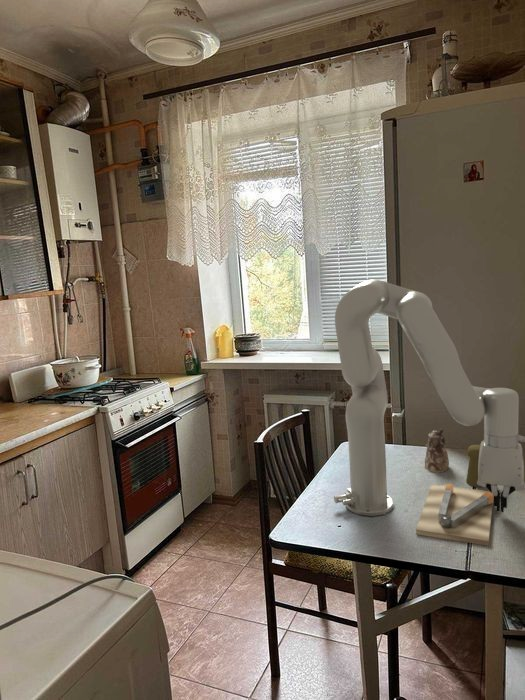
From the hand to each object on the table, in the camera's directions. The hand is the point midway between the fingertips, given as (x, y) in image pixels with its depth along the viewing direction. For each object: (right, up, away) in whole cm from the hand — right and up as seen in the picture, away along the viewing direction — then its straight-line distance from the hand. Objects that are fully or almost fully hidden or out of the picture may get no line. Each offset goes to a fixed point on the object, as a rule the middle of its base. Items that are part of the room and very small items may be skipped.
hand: (500, 509), depth 130 cm
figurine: (-5, +3, +32) cm, 33 cm away
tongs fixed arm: (-12, -1, +5) cm, 13 cm away
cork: (+2, +1, +20) cm, 20 cm away
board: (-10, -2, +3) cm, 10 cm away
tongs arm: (-8, -1, +1) cm, 8 cm away
